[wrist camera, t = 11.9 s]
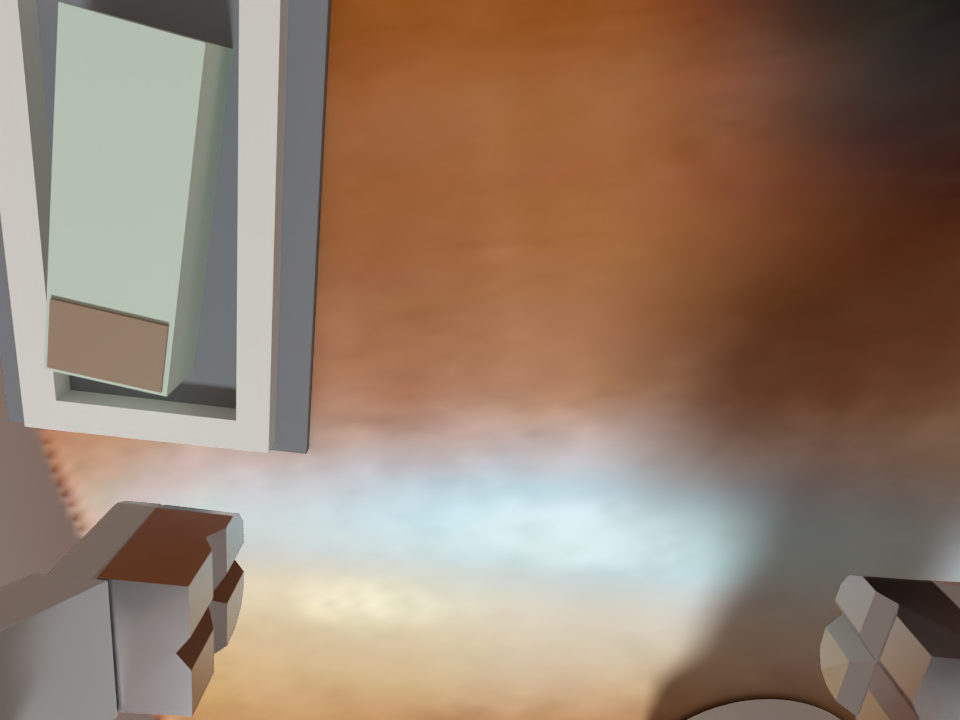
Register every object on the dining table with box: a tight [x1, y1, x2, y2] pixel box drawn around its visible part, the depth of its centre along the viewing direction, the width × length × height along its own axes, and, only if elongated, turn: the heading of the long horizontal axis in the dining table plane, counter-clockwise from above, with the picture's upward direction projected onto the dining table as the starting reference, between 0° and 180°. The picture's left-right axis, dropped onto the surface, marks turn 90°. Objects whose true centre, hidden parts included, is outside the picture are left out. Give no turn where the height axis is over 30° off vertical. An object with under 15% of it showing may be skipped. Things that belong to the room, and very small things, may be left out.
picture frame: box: [0, 0, 331, 454], centre depth 28 cm, size 22×14×2 cm, turn 172°
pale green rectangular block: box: [44, 2, 233, 397], centre depth 27 cm, size 5×14×3 cm, turn 165°
